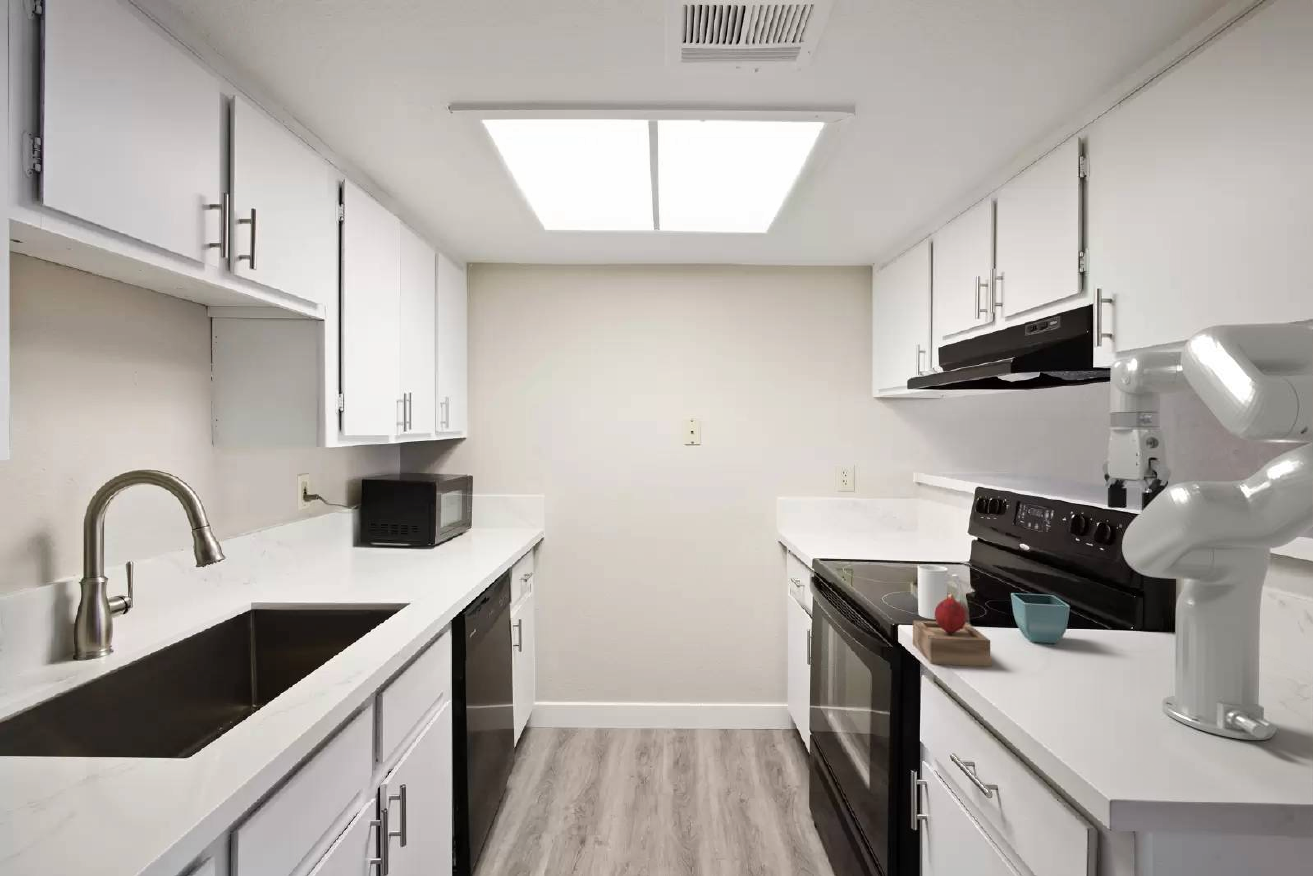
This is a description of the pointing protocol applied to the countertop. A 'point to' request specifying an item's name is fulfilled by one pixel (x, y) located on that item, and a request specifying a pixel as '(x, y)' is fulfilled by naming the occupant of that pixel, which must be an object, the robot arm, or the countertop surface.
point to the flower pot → (1040, 616)
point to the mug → (934, 588)
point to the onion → (950, 615)
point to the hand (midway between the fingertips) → (1133, 510)
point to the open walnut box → (951, 644)
